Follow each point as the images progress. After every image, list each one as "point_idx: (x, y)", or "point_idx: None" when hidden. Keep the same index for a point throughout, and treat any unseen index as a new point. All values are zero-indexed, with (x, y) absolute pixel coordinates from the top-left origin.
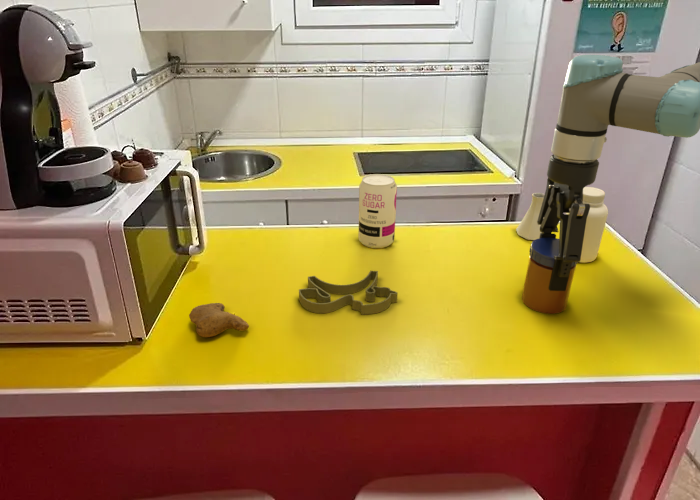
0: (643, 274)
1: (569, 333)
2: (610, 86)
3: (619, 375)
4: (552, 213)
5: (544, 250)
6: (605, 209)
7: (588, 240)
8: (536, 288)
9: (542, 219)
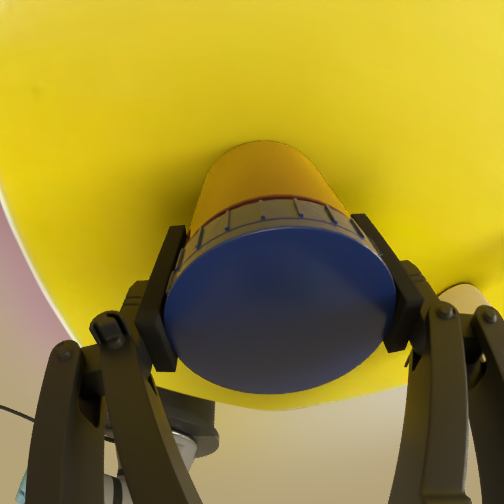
0: (363, 384)
1: (127, 231)
2: None
3: (42, 281)
4: (418, 454)
5: (244, 284)
6: (469, 423)
7: None
8: (210, 185)
9: (481, 343)
